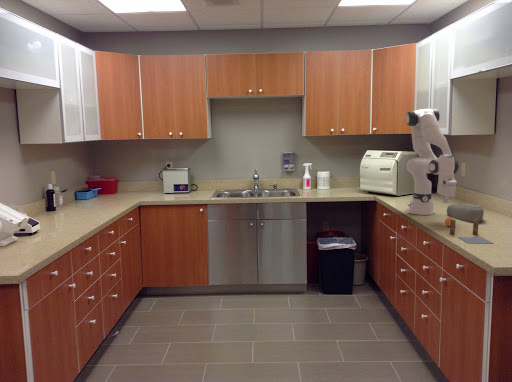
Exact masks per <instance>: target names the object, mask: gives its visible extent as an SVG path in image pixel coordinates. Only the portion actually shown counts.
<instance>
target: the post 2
mask: <svg viewBox="0 0 512 382" xmlns="http://www.w3.org/2000/svg"><path fill="white" fill-rule="evenodd" d="M472 223H473V224H472V235H475V236H477V235H478V234H479V224H480V222H479V220H474V221H473V222H472Z"/></svg>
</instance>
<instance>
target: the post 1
mask: <svg viewBox="0 0 512 382" xmlns="http://www.w3.org/2000/svg"><path fill="white" fill-rule="evenodd" d="M456 221H457V219H454V220H451V221H450V227H449V235H452V236H453V235H454V234H456ZM454 236H455V235H454Z"/></svg>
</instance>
